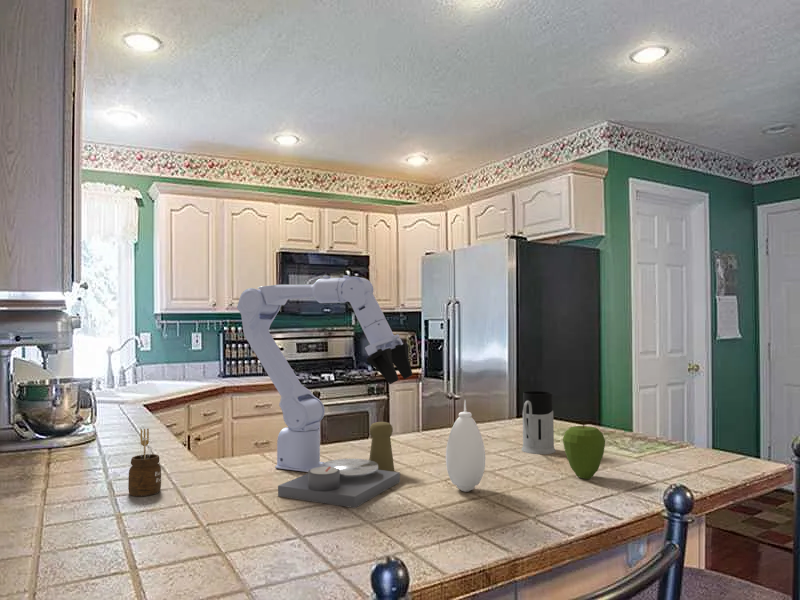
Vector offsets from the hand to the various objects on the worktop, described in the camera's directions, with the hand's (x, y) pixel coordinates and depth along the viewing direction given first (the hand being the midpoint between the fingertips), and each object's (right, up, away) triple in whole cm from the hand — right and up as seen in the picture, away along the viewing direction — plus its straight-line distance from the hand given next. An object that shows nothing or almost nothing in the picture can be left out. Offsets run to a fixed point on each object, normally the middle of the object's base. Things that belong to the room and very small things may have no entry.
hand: (401, 379), depth 128 cm
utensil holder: (-51, -21, -13) cm, 56 cm away
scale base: (-12, -20, -11) cm, 26 cm away
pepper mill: (-5, -21, +2) cm, 22 cm away
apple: (+39, -21, -3) cm, 45 cm away
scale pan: (-11, -18, -8) cm, 22 cm away
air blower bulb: (+13, -20, -12) cm, 27 cm away
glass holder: (+34, -22, +22) cm, 46 cm away
